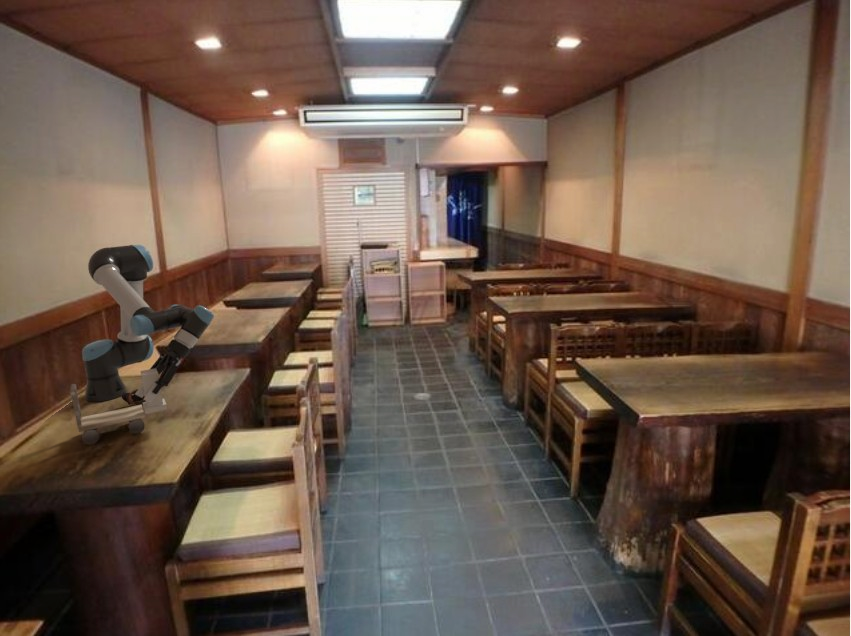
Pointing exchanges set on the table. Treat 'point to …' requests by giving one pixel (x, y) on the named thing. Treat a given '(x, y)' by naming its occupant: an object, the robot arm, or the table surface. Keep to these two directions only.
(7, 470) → the table surface
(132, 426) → the trolley
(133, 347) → the robot arm
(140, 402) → the broken clay pot
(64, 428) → the table surface
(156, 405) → the grey pillar on base
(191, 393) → the table surface
